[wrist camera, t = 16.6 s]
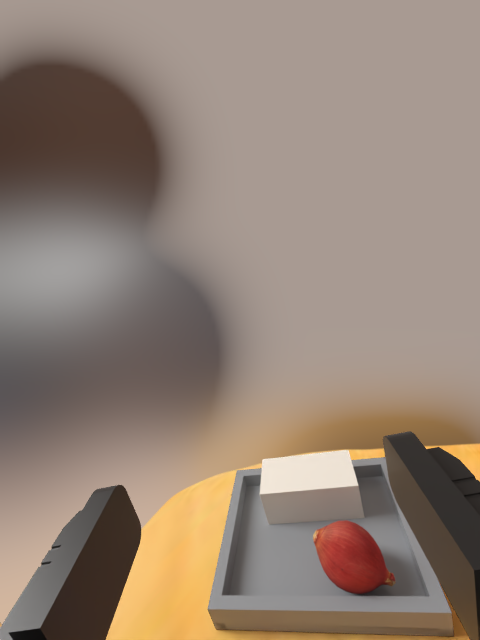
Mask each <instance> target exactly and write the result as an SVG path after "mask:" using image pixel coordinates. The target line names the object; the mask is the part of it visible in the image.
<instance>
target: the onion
mask: <svg viewBox="0 0 480 640" xmlns="http://www.w3.org/2000/svg"><path fill="white" fill-rule="evenodd" d="M313 540H314V544H315V547H316V551H317V554H318V557H319V560H320V563H321V565H322V568H323V570H324V572H325V573H326V575H327V576H328V578H329V579H330V580H331V581H332V582H333V583H334V584H335V585H336V586H337V587H338V588H340V589H342V590H344V591H346V592H349V593H353V594H364V593H368V592H371V591H373V590H375V589H376V588H378V587H379V586H381V585H389V586H391V587H392V586H393V585H394V584H395V583H396V581H395V577H394V574H393V573H390V572H389V571H388V569H387V568H386V565H385V561H384V558H383V555H382V553H381V550H380V548H379V546H378V544H377V543H376V541H375V540H374V538H373V537H372V536H371V535H370V534H369V532H367V531H366V530H365V529H364V528H363V527H361V526H360V525H358V524H356V523H354V522H351V521H347V520H344V521H337V522H334V523H331V524H329V525H327V526H325V527H323V528H321V529H317V530H316V531H315V533H314V535H313Z"/></svg>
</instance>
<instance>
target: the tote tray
mask: <svg viewBox="0 0 480 640" xmlns="http://www.w3.org/2000/svg"><path fill="white" fill-rule="evenodd" d="M351 461H352V465H353V468H354V472H355V475H356V479H357V482H358V486H359V491H360V496H361V502H362V507H363V512H364V518H355V519H341V520H326V521H312V522H297V523H283V524H268V521H267V518H266V514H265V511H264V508H263V504H262V501H261V498H260V484H261V472H262V468H260V469H249V470H238V471H237V473H236V478H235V483H234V487H233V492H232V497H231V502H230V506H229V511H228V516H227V520H226V525H225V530H224V535H223V539H222V544H221V549H220V553H219V558H218V563H217V568H216V572H215V577H214V582H213V587H212V591H211V596H210V601H209V605H208V611H209V614H210V616H211V619H212V621H213V624H214V626H215V628H216V629H225V630H258V631H290V632H323V633H356V634H389V635H422V636H454V630H453V620H452V612H451V610H450V607H449V605H448V602H447V600H446V598H445V595H444V593H443V590H442V588H441V586H440V583H439V581H438V578H437V576H436V575H435V573H434V571H433V569H432V567H431V565H430V563H429V561H428V560H427V558H426V556H425V554H424V552H423V550H422V548H421V547H420V545H419V543H418V541H417V539H416V537H415V535H414V533H413V532H412V530H411V528H410V526H409V524H408V522H407V520H406V519H405V517H404V515H403V513H402V511H401V509H400V507H399V505H398V504H397V501H396V499H395V497H394V494H393V492H392V489H391V486H390V482H389V477H388V471H387V464H386V458H385V457H383V458H372V459H361V460H351ZM344 520H347V521H351V522H354V523H356V524H358V525H360V526H361V527H363V528H364V529H365V530H366V531H367V532H369V534H370V535H371V536H372V537H373V538H374V540H375V541H376V543H377V544H378V546H379V548H380V550H381V553H382V555H383V558H384V561H385V565H386V568H387V569H388V571H389V572H390V573H393V574H394V577H395V581H396V583H395V584H394V585H393V586H392V587H391V586H389V585H381V586H379V587H378V588H376V589H375V590H373V591H371V592H368V593H364V594H353V593H349V592H346V591H344V590H342V589H340V588H338V587H337V586H336V585H335V584H334V583H333V582H332V581H331V580H330V579H329V578H328V576H327V575H326V573H325V572H324V570H323V568H322V565H321V563H320V560H319V557H318V554H317V551H316V547H315V544H314V540H313V535H314V533H315V531H316V530H317V529H321V528H323V527H325V526H327V525H329V524H331V523H334V522H337V521H344Z"/></svg>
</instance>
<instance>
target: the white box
mask: <svg viewBox="0 0 480 640" xmlns="http://www.w3.org/2000/svg"><path fill="white" fill-rule="evenodd" d="M260 498H261V501H262V504H263V508H264V511H265V514H266V518H267V521H268V524H283V523H297V522H312V521H326V520H341V519H355V518H364V512H363V507H362V502H361V496H360V491H359V486H358V482H357V479H356V475H355V472H354V468H353V465H352V461H351V458H350V454H349V451H348V450H342V451H333V452H324V453H315V454H306V455H298V456H289V457H280V458H272V459H263V460H262V472H261V484H260Z"/></svg>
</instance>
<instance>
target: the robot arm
mask: <svg viewBox="0 0 480 640" xmlns="http://www.w3.org/2000/svg"><path fill="white" fill-rule="evenodd" d="M383 445H384V451H385V458H386V464H387V471H388V477H389V482H390V486H391V489H392V492H393V494H394V497H395V499H396V501H397V504H398V505H399V507H400V509H401V511H402V513H403V515H404V517H405V519H406V520H407V522H408V524H409V526H410V528H411V530H412V532H413V533H414V535H415V537H416V539H417V541H418V543H419V545H420V547H421V548H422V550H423V552H424V554H425V556H426V558H427V560H428V561H429V563H430V565H431V567H432V569H433V571H434V573H435V575H436V576H437V578H438V580H439V582H440V584H441V586H442V588H443V589H444V591H445V593H446V595H447V597H448V599H449V601H450V603H451V604H452V606H453V608H454V610H455V612H456V614H457V616H458V617H459V619H460V621H461V623H462V625H463V627H464V629H465V631H466V632H467V634H468V636H469V638H470V640H480V482H479V481H478V480H476V479H475V476H474V475H473V474H472V473H471V472H470V471H469V470H468V469H467V467H466V466H465V465H464V464H463V463H462V462H461V461H460V460H459V459H458V458H456V457H454V456H453V455H451V454H449V453H448V452H446V451H444V450H443V449H441V448H439V447H437V448H431V449H426V448H425V447H424V446H423V444H422V443H421V442H420V441H419V439H418V438H417V437H416V436H415V434H414V433H412V432H405V433H399V434H394V435H388V436H384V437H383ZM140 539H141V525H140V521H139V519H138V516H137V514H136V512H135V509H134V507H133V505H132V503H131V500H130V498H129V496H128V494H127V491H126V489H125V488H124V487H123V486H122V485H117V486H111V487H106V488H101V489H97V490H95V491H94V492H93V494H92V495H91V497H90V498H89V500H88V502H87V503H86V505H85V507H84V509H83V510H82V511H79V512H78V513H77V514H76V515H75V517H73V518H72V519H71V520H70V522H69V523H68V524H67V525H66V526H65V527H64V528H63V529H62V531H61V533H60V534H59V536H58V537H57V539H56V540H55V542H54V544H53V545H52V549H51V550H50V551H48V553H47V555H46V556H45V558H44V559H43V561H42V563H41V564H42V565H41V567H38V569H37V571H36V572H35V574H34V575H33V577H32V578H31V580H30V581H29V583H28V585H27V587H26V588H25V589H24V591H23V592H22V594H21V596H20V597H19V599H18V601H17V602H16V604H15V605H14V607H13V608H12V610H11V611H10V613H9V615H8V616H7V618H6V619H5V621H4V623H3V624H1V623H0V640H105V639H106V637H107V634H108V631H109V628H110V625H111V623H112V620H113V617H114V614H115V611H116V609H117V606H118V603H119V600H120V597H121V595H122V592H123V589H124V586H125V583H126V581H127V578H128V575H129V572H130V570H131V567H132V564H133V561H134V558H135V556H136V553H137V550H138V547H139V544H140Z"/></svg>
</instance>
